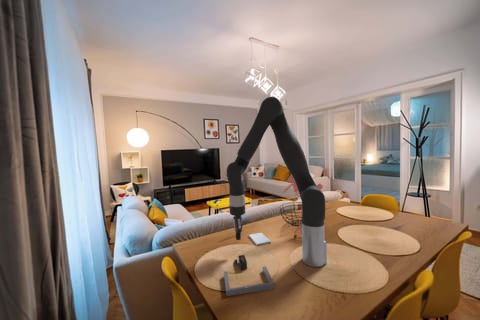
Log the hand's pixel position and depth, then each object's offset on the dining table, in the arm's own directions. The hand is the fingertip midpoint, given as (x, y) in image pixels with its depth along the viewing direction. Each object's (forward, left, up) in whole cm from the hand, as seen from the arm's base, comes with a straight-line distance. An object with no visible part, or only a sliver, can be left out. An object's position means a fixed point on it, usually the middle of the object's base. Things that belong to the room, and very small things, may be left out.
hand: (238, 239), depth 96 cm
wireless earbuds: (0, +9, -8) cm, 12 cm away
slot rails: (0, +20, -8) cm, 21 cm away
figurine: (-40, -17, -8) cm, 44 cm away
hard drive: (-13, -13, -9) cm, 21 cm away
